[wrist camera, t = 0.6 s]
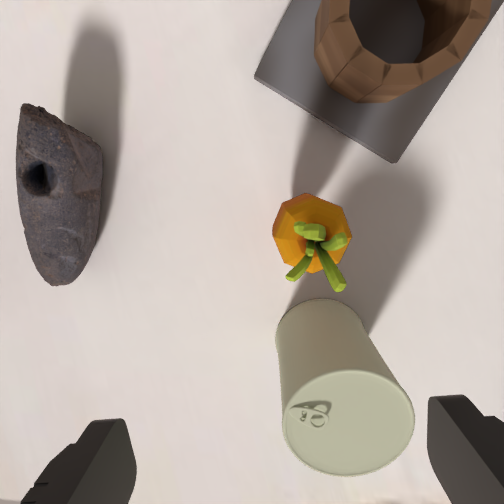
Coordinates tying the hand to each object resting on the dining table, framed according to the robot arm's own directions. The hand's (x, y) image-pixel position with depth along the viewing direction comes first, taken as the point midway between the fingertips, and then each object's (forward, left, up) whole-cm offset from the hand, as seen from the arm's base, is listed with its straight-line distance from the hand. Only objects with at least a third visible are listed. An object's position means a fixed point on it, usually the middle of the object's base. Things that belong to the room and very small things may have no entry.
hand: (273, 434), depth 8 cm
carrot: (-1, -4, -23) cm, 24 cm away
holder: (+1, -19, -23) cm, 30 cm away
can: (-10, +6, -23) cm, 26 cm away
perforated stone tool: (+17, +5, -23) cm, 29 cm away
